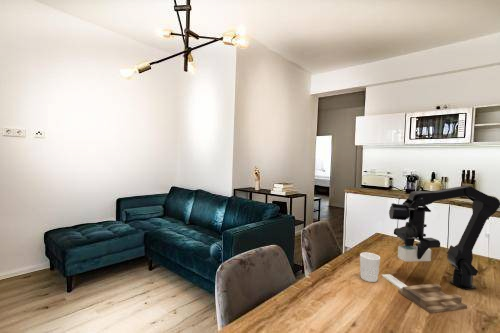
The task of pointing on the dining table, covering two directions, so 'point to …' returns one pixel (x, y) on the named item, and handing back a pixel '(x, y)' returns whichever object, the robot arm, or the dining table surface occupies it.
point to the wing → (394, 281)
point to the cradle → (432, 298)
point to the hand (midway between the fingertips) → (414, 256)
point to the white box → (412, 254)
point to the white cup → (369, 266)
